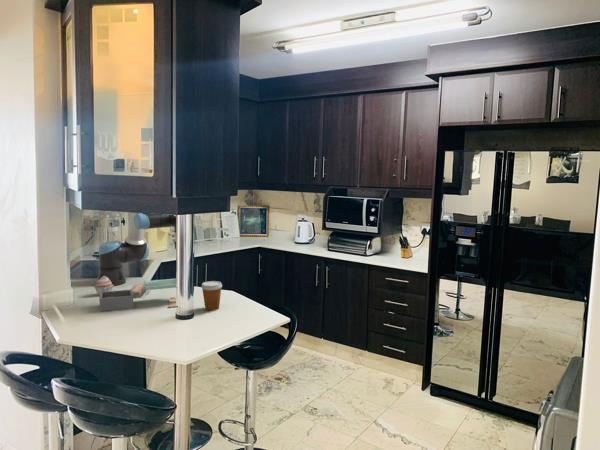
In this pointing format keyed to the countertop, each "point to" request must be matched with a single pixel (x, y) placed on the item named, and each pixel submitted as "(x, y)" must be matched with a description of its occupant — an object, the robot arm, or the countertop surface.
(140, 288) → the packaged product
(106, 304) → the tub
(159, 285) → the lid
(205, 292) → the disposable coffee cup
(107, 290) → the cupcake
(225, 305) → the countertop surface
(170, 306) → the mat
